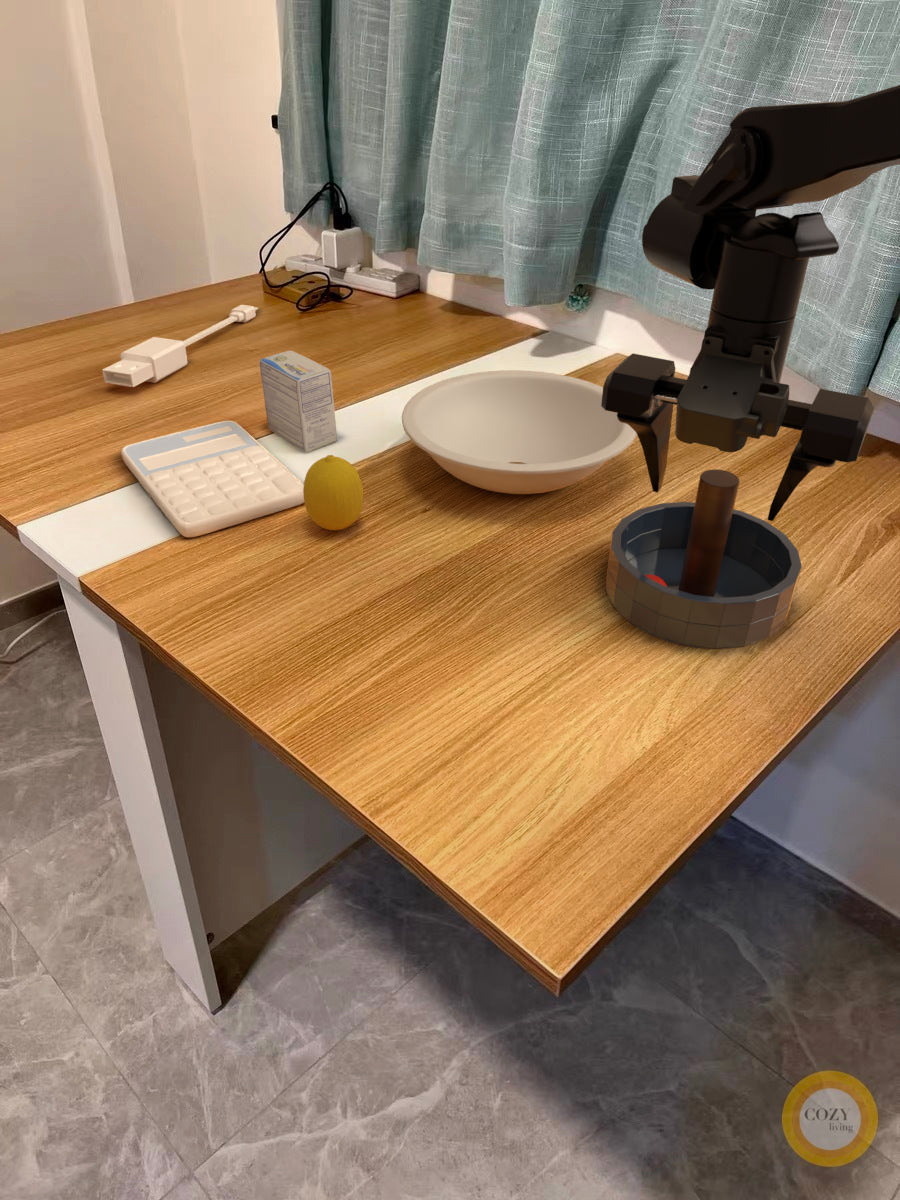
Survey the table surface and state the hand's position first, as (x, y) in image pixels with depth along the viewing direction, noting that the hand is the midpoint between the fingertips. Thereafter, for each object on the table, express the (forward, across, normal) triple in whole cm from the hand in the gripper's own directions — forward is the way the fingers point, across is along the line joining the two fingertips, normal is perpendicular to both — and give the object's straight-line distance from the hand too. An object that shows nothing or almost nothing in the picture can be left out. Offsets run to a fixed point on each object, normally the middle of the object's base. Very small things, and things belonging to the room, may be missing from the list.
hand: (712, 503), depth 71 cm
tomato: (+7, -3, -4) cm, 9 cm away
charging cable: (+10, -77, +23) cm, 81 cm away
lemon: (+9, -33, -6) cm, 35 cm away
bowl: (+9, 0, 0) cm, 9 cm away
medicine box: (+10, -48, +9) cm, 50 cm away
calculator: (+9, -50, -4) cm, 51 cm away
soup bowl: (+9, -23, +13) cm, 28 cm away
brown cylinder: (+8, 0, 0) cm, 9 cm away
